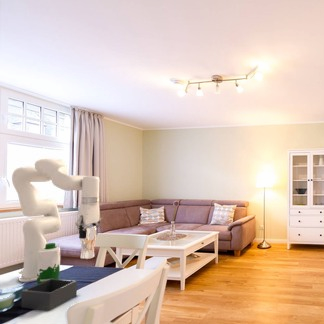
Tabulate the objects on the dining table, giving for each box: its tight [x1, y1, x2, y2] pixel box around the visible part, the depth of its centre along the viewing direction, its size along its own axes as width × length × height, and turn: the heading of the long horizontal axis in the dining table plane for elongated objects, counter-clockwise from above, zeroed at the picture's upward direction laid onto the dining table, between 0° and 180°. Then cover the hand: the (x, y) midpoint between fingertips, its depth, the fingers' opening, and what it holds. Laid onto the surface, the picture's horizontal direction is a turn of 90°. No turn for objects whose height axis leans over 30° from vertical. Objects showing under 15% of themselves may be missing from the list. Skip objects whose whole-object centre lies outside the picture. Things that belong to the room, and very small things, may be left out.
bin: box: [20, 279, 78, 311], centre depth 118 cm, size 14×14×7 cm
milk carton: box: [36, 242, 61, 285], centre depth 135 cm, size 9×9×20 cm
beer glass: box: [79, 225, 98, 260], centre depth 136 cm, size 7×7×15 cm
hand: (88, 236), depth 136 cm, fingers closed on beer glass, 7 cm apart
